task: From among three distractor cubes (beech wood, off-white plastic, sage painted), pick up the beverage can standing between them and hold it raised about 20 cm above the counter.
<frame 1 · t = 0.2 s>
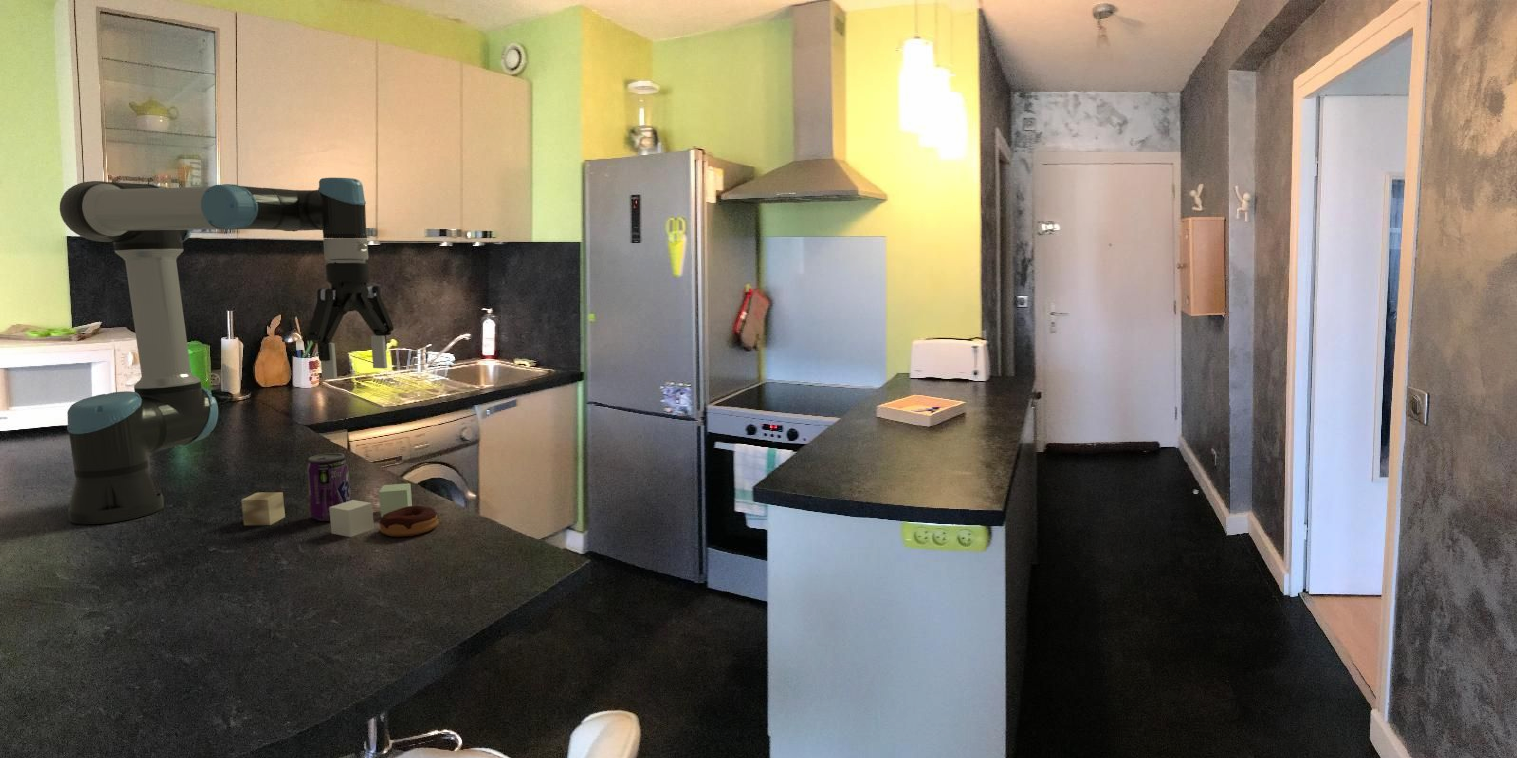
hand: (355, 373, 165), 28 cm above the countertop, fingers open, 13 cm apart
sage cube: (396, 512, 169), on the countertop
beech cube: (264, 521, 164), on the countertop
donut: (410, 532, 158), on the countertop
beverage can: (332, 518, 166), on the countertop
off-white cube: (352, 531, 157), on the countertop
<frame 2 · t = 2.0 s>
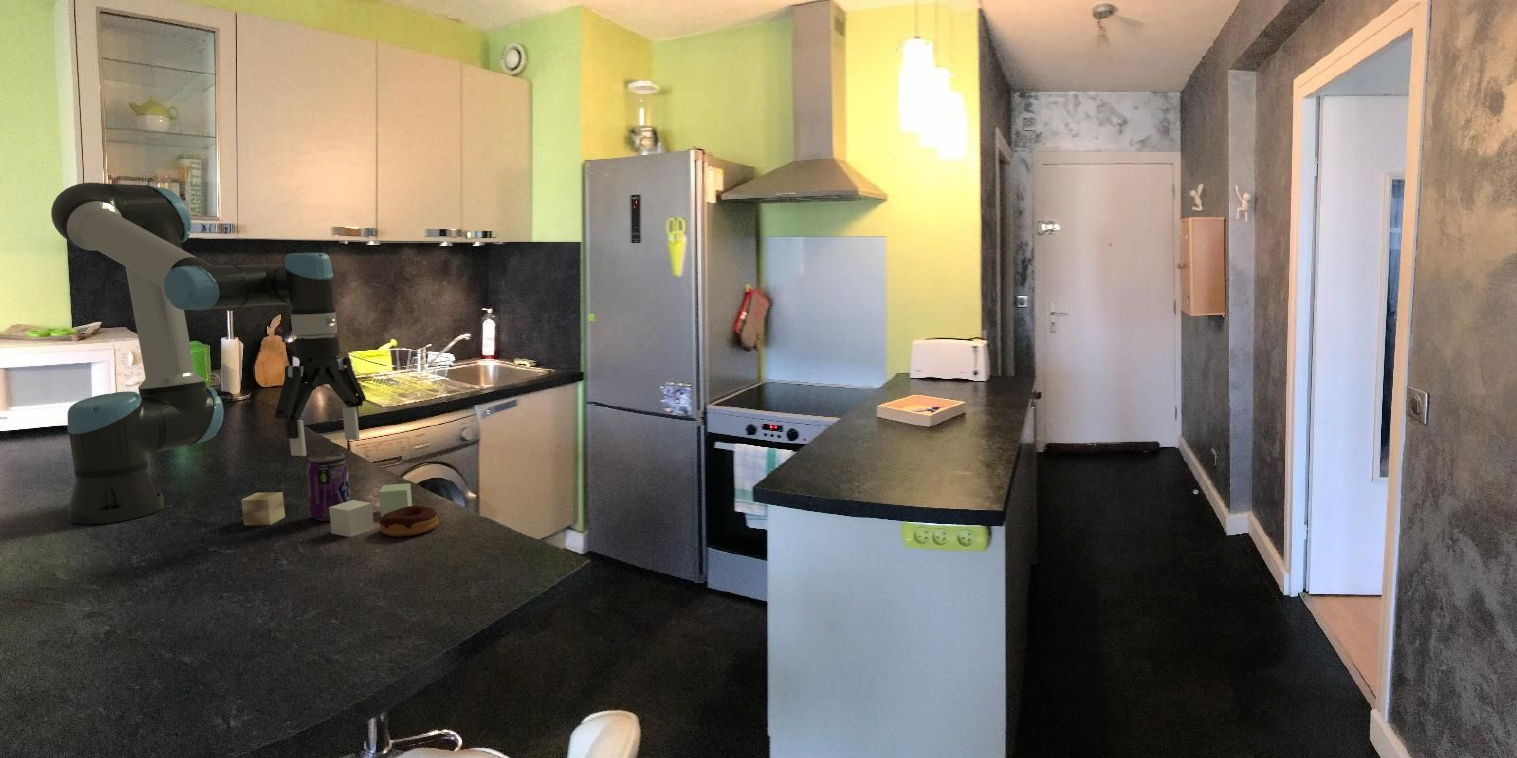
hand: (326, 447, 164), 14 cm above the countertop, fingers open, 13 cm apart
nothing on the countertop moved.
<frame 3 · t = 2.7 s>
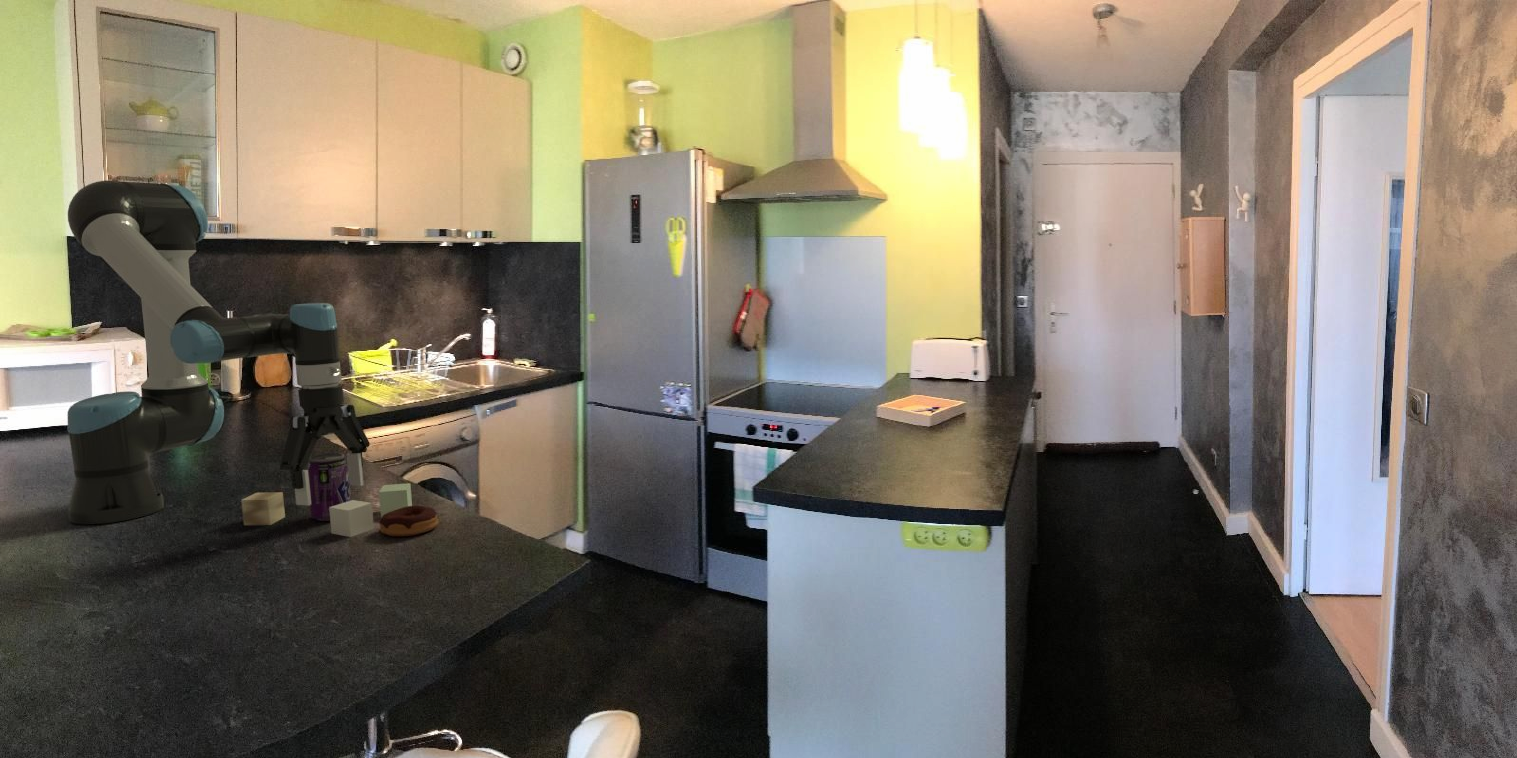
hand: (331, 494, 165), 4 cm above the countertop, fingers open, 13 cm apart
nothing on the countertop moved.
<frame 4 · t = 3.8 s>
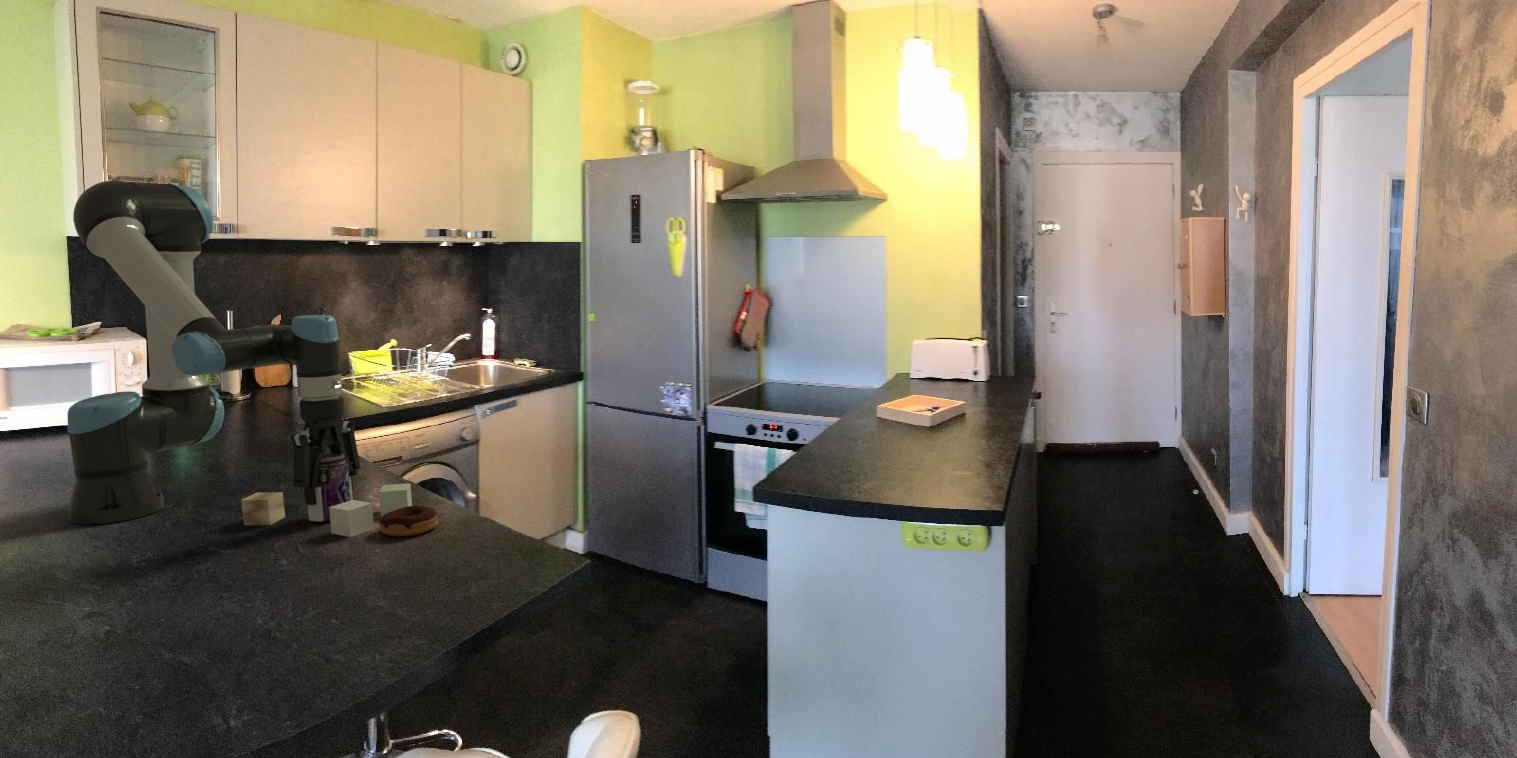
hand: (331, 514, 166), 1 cm above the countertop, fingers closed on beverage can, 7 cm apart
beverage can: (332, 518, 166), on the countertop, touching gripper
everything else where it was.
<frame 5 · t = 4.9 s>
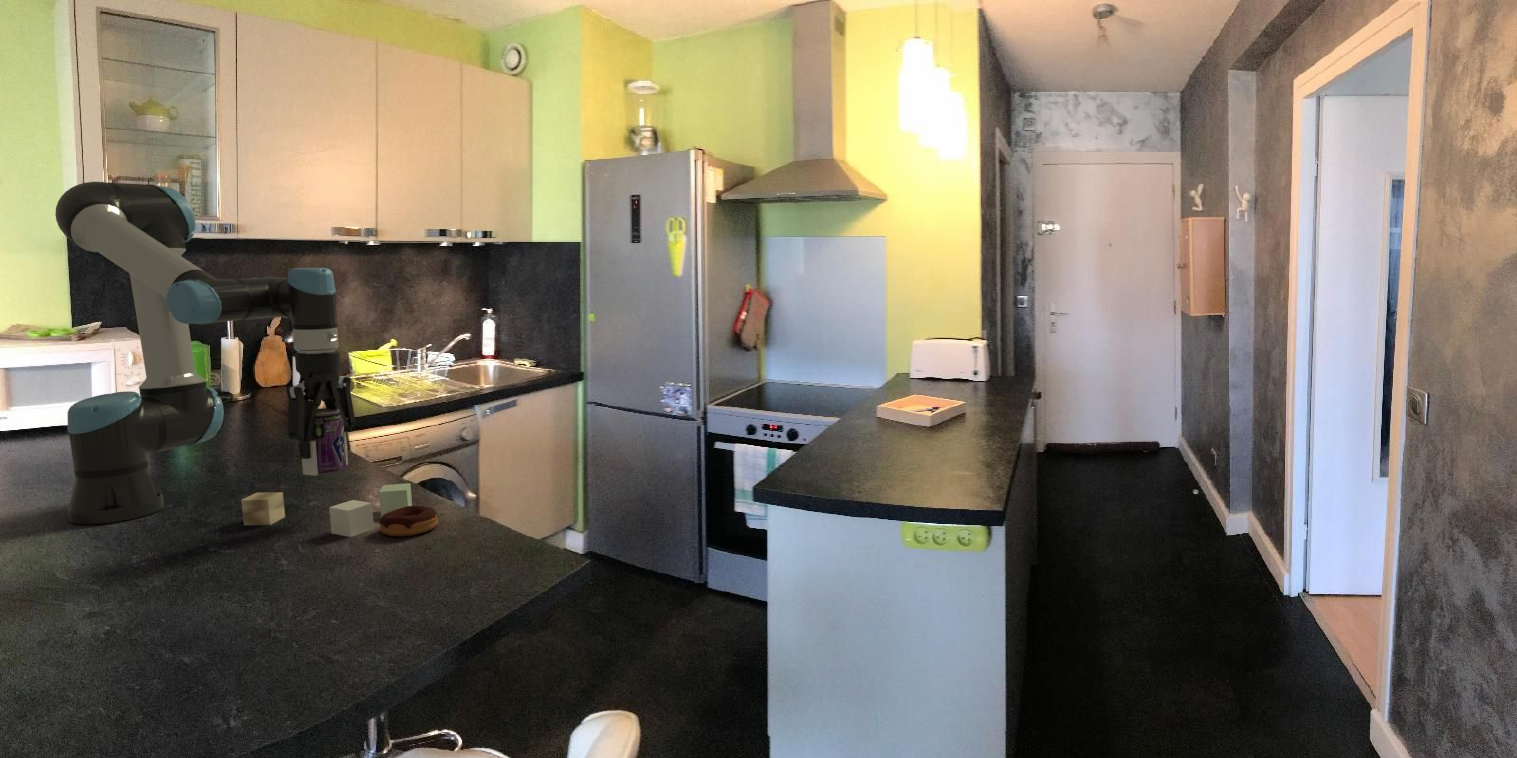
hand: (326, 469, 164), 9 cm above the countertop, fingers closed on beverage can, 7 cm apart
beverage can: (326, 473, 165), point 9 cm above the countertop, touching gripper
everything else where it was.
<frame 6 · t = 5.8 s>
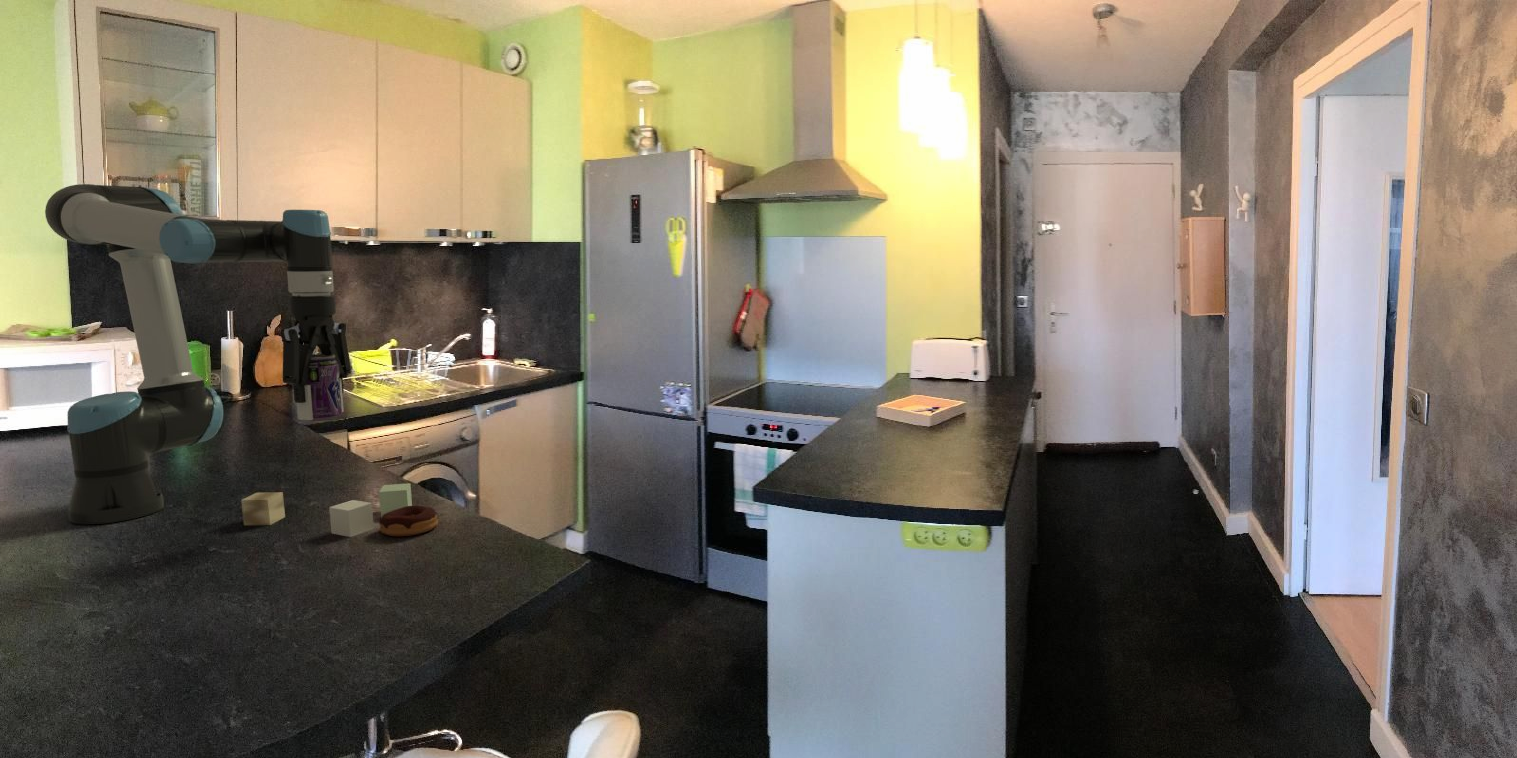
hand: (321, 415, 163), 20 cm above the countertop, fingers closed on beverage can, 7 cm apart
beverage can: (321, 419, 163), point 19 cm above the countertop, touching gripper
everything else where it was.
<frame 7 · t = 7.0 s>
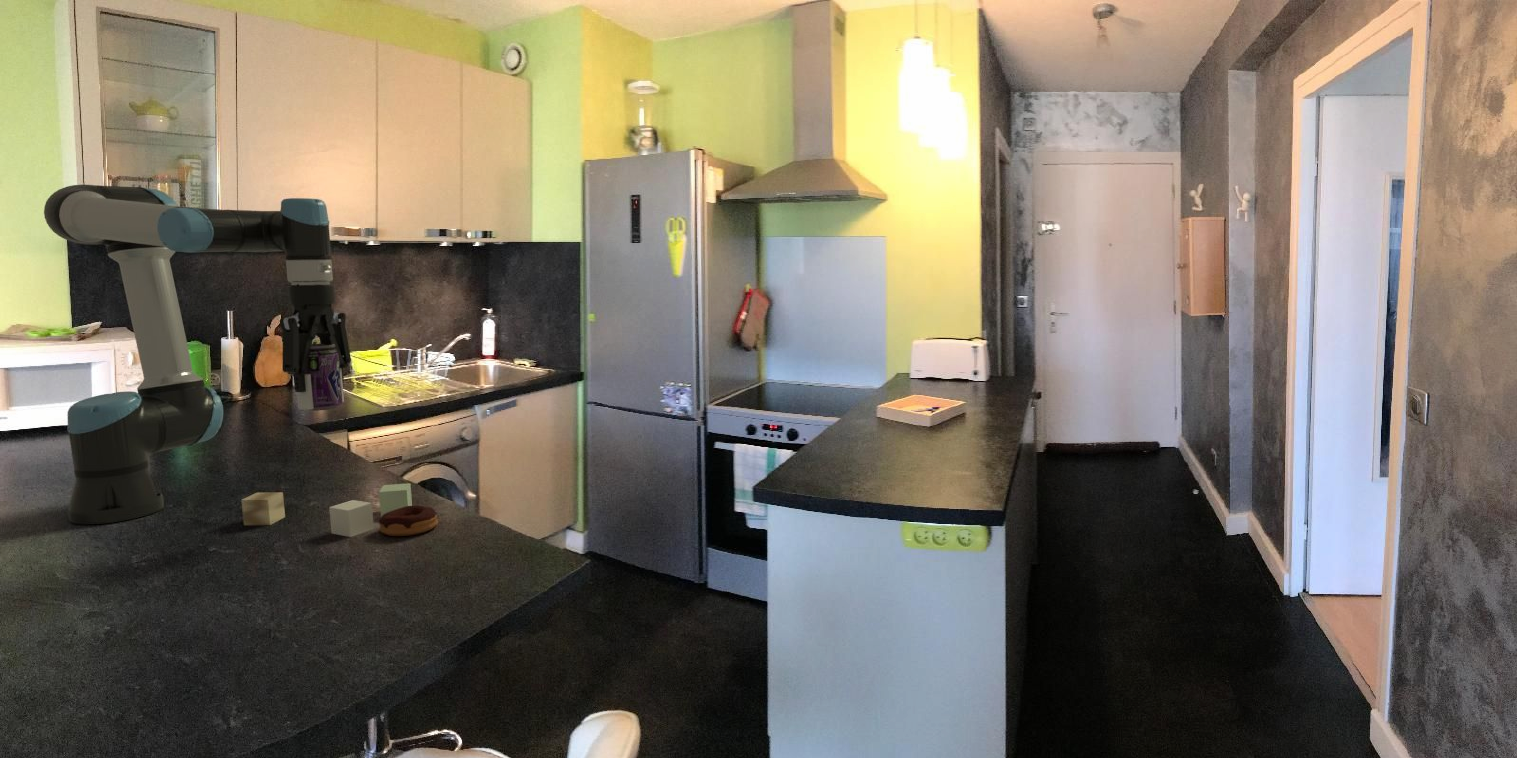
hand: (321, 405, 162), 22 cm above the countertop, fingers closed on beverage can, 7 cm apart
beverage can: (322, 409, 163), point 21 cm above the countertop, touching gripper
everything else where it was.
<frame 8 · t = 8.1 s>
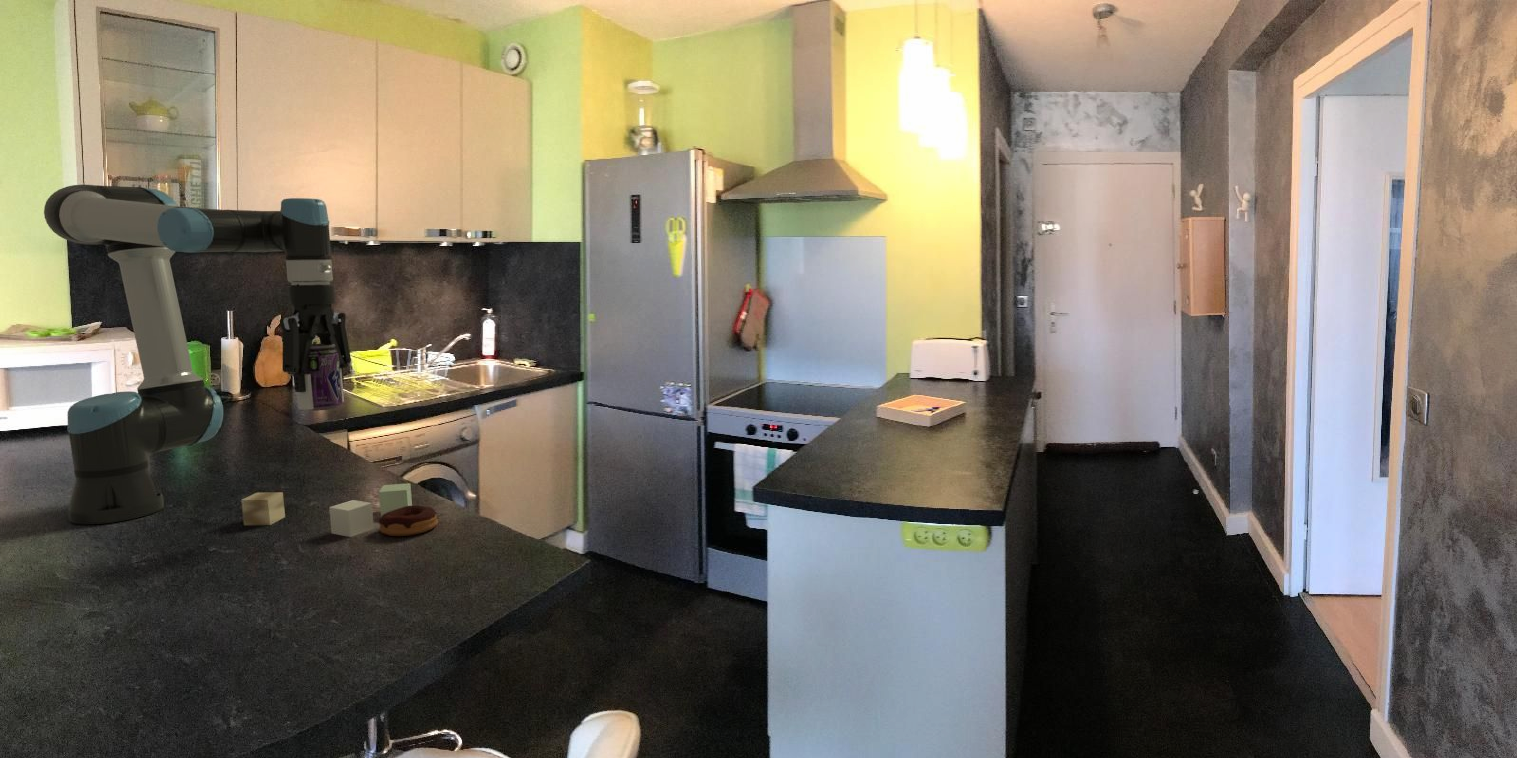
hand: (321, 405, 162), 22 cm above the countertop, fingers closed on beverage can, 7 cm apart
beverage can: (322, 409, 163), point 21 cm above the countertop, touching gripper
everything else where it was.
at the end: the gripper is holding beverage can; beverage can point 21.2 cm above the countertop; off-white cube moved 0.1 cm from its start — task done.
